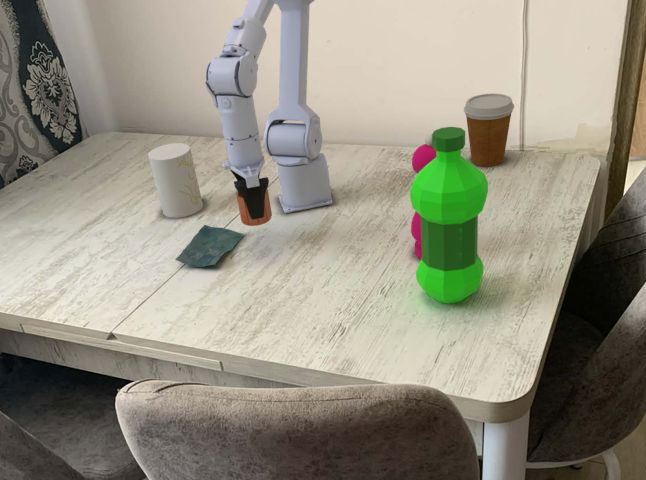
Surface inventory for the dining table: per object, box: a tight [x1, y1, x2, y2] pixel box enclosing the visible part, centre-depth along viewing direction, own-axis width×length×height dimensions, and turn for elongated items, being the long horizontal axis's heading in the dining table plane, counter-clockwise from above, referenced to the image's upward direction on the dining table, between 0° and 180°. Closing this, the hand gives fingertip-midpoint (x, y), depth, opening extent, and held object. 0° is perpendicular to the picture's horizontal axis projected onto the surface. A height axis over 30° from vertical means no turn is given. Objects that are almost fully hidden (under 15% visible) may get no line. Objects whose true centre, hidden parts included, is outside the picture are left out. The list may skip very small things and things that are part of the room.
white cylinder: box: [147, 142, 204, 219], centre depth 143 cm, size 8×8×12 cm
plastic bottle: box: [409, 126, 489, 304], centre depth 103 cm, size 10×10×25 cm
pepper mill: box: [410, 133, 437, 260], centre depth 115 cm, size 7×7×20 cm
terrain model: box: [174, 224, 244, 268], centre depth 130 cm, size 13×8×2 cm, turn 161°
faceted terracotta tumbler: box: [235, 188, 273, 227], centre depth 126 cm, size 5×6×5 cm
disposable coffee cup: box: [463, 93, 515, 167], centre depth 144 cm, size 10×10×12 cm
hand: (255, 210), depth 126 cm, fingers closed on faceted terracotta tumbler, 5 cm apart
